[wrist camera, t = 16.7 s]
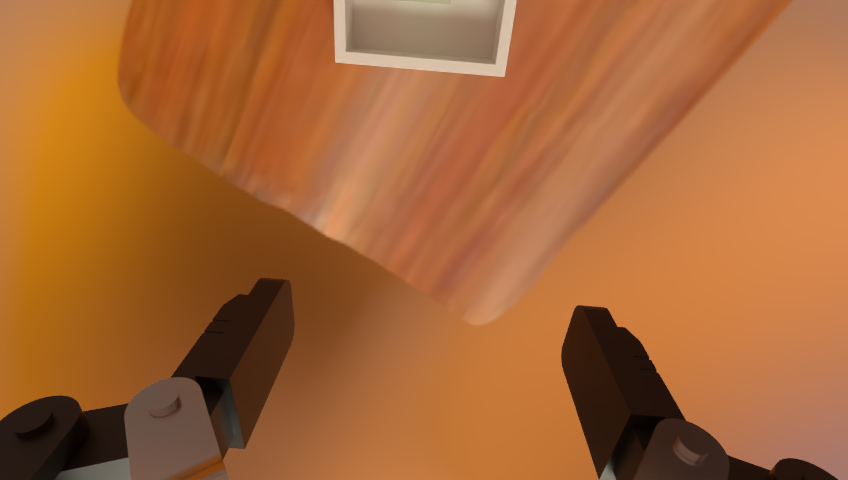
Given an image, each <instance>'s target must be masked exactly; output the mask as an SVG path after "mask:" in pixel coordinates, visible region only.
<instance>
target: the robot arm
mask: <svg viewBox="0 0 848 480" xmlns="http://www.w3.org/2000/svg"><path fill="white" fill-rule="evenodd" d="M294 323H295V322H294V312H293V302H292V291H291V284H290V282H289V280H283V279H271V278H260V279H259V280H258V281H257V283H256V284H255V286H254V287H253V289H252V290H251V292H250V294H249V295H242V294H239V295H237V296H236V297H234V298H233V299H231V300H230V301H228V302H227V303H226V304H224V305H223V306H222V307H221V309H220V310H219V311H218V313H217V314H216V316H215V317H214V318H213V322H211V323H210V324H209V325H208V327H207V328H206V329H205V332H204V334H202V335H201V336H200V338H199V339H198V341H197V342H196V343H195V345H194V346H193V348H192V349H191V350H190V352H189V353H188V354H187V356H186V357H185V359H184V360H183V361H182V363H181V364H180V366H179V367H178V368H177V370H176V371H175V372H174V374H173V375H172V376H171V378H168V379H164V380H160V381H158V382H156V383H153V384H151V385H149V386H147V387H146V388H144V389H143V390H142V391H140V392H139V393H138V394H136V396H134V398H133V399H132V400H131V401H130V402H129V403H128V404H124V405H118V406H112V407H106V408H101V409H96V410H89V411H84V412H83V411H82V409H81V407H80V405H79V403H78V402H77V401H76V400H75V399H73V398H71V397H68V396H51V397H45V398H41V399H38V400H35V401H33V402H30V403H28V404H25V405H23V406H21V407H20V408H18V409H16V410H14V411H13V412H11V413H10V414H8V415H7V416H6V417H4V418H3V419H2V420H1V421H0V480H229V477H228V474H227V471H226V468H225V464H224V462H223V459H224V457H225V455H226V452H227V451H228V448H239V449H245V447H246V445H247V443H248V441H249V438H250V436H251V434H252V432H253V429H254V427H255V425H256V423H257V420H258V418H259V416H260V413H261V411H262V409H263V407H264V405H265V402H266V400H267V398H268V395H269V393H270V391H271V389H272V386H273V384H274V382H275V379H276V377H277V375H278V373H279V371H280V368H281V366H282V364H283V361H284V359H285V357H286V355H287V352H288V350H289V348H290V346H291V343H292V340H293V335H294V325H295V324H294ZM561 358H562V367H563V371H564V374H565V377H566V380H567V383H568V386H569V389H570V392H571V395H572V398H573V401H574V404H575V407H576V411H577V414H578V417H579V420H580V423H581V426H582V429H583V432H584V435H585V438H586V441H587V444H588V447H589V450H590V454H591V457H592V460H593V463H594V466H595V469H596V472H597V475H598V478H599V480H838V479H836V478H835V477H834V476H832V475H831V474H829V473H828V472H826V471H825V470H823V469H821V468H819V467H817V466H815V465H813V464H811V463H809V462H806V461H803V460H799V459H793V458H787V459H782V460H780V461H779V462H778V463H777V464H776V465H775V466H774V467H773V469H772V470H771V471H770V470H767V469H765V468H762V467H759V466H756V465H753V464H750V463H748V462H745V461H742V460H739V459H736V458H733V457H731V456H728V455H727V454H726V452H725V451H724V449H723V448H722V446H721V445H720V444H719V443H718V441H717V440H716V439H715V438H713V437H712V436H711V435H710V434H709V433H708V432H706V431H705V430H703V429H702V428H700V427H699V426H697V425H695V424H693V423H690V422H687V421H686V420H685V418H684V416H683V415H682V413H681V411H680V409H679V408H678V406H677V404H676V402H675V401H674V399H673V397H672V396H671V394H670V392H669V390H668V389H667V387H666V385H665V383H664V382H663V380H662V378H661V377H660V375H659V374H658V373H657V372H656V368H655V366H654V364H653V363H652V361H651V360H649V356H648V354H647V352H646V351H645V349H644V347H643V345H642V344H641V342H640V341H639V340H638V339H637V338H636V337H635V336H634V335H632V334H631V333H630V332H629V331H628V330H627V329H626V328H624V327H617V325H616V323H615V322H614V320H613V318H612V316H611V314H610V312H609V311H608V309H607V308H604V307H592V306H581V305H579V306H576V308H575V310H574V312H573V315H572V318H571V322H570V324H569V328H568V331H567V334H566V337H565V340H564V343H563V346H562V354H561Z"/></svg>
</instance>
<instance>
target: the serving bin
mask: <svg viewBox="0 0 848 480" xmlns="http://www.w3.org/2000/svg"><path fill="white" fill-rule="evenodd" d="M516 2H517V0H451V4H440V3H426V2H413V1H399V0H334V32H335V62H337V63H349V64H360V65H372V66H383V67H395V68H407V69H418V70H430V71H441V72H453V73H465V74H476V75H488V76H500V77H505V70H506V64H507V58H508V52H509V45H510V39H511V33H512V27H513V20H514V14H515V8H516Z"/></svg>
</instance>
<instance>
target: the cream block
mask: <svg viewBox="0 0 848 480" xmlns="http://www.w3.org/2000/svg"><path fill="white" fill-rule="evenodd" d="M399 1H413V2H426V3H440V4H451V0H399Z"/></svg>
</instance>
